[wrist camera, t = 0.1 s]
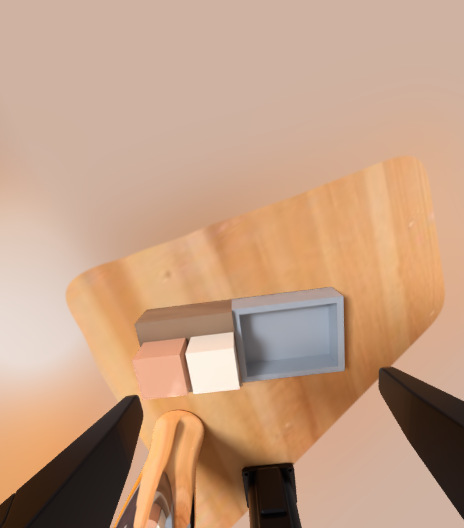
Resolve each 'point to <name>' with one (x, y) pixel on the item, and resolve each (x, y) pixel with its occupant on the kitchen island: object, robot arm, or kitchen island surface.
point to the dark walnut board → (187, 323)
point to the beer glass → (167, 476)
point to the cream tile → (213, 363)
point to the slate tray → (289, 334)
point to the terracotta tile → (162, 369)
